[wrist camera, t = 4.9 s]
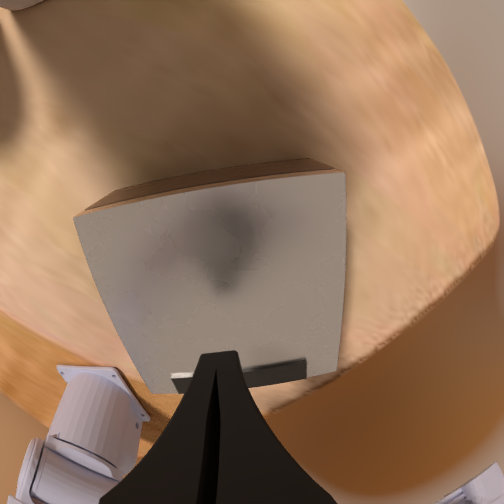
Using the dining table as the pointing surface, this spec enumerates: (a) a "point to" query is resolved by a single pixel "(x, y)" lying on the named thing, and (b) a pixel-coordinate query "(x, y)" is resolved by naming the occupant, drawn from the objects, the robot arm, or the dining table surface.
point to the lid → (225, 276)
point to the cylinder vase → (18, 4)
